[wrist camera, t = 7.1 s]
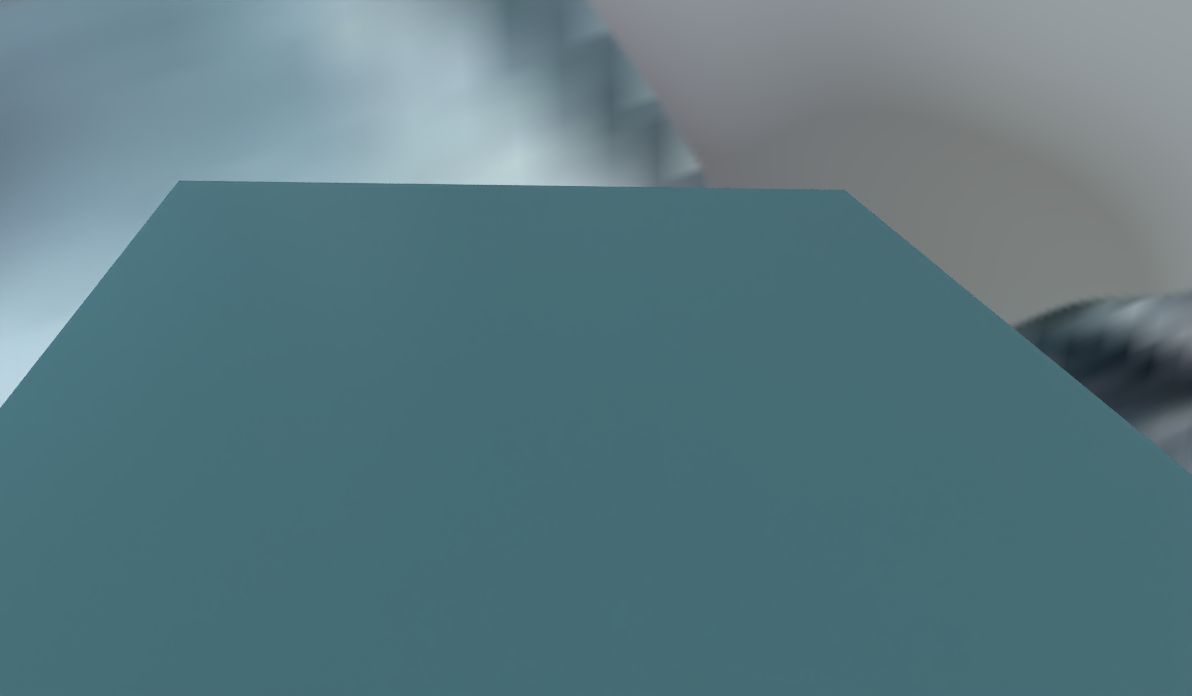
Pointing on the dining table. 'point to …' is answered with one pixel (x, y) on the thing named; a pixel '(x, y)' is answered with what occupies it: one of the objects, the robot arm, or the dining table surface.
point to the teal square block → (569, 462)
